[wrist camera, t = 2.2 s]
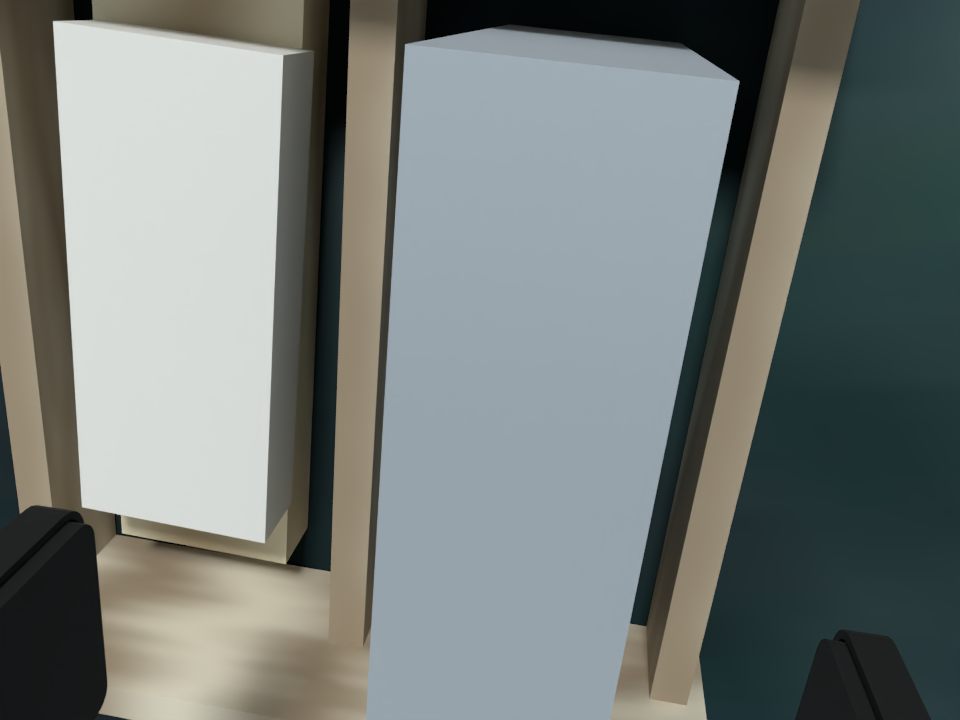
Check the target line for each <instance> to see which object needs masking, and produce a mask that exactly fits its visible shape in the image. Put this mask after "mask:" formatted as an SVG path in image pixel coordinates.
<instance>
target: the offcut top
mask: <svg viewBox="0 0 960 720" xmlns="http://www.w3.org/2000/svg"><path fill="white" fill-rule="evenodd" d="M53 31H54V48H55V65H56V81H57V98H58V115H59V132H60V148H61V165H62V182H63V199H64V215H65V232H66V249H67V265H68V282H69V299H70V316H71V332H72V349H73V366H74V383H75V399H76V416H77V433H78V450H79V466H80V483H81V500H82V507H84V508H89V509H94V510H99V511H104V512H109V513H114V514H119V515H124V516H129V517H134V518H139V519H144V520H149V521H154V522H159V523H164V524H169V525H174V526H179V527H184V528H189V529H195V530H200V531H205V532H210V533H215V534H220V535H225V536H230V537H235V538H240V539H245V540H250V541H255V542H260V543H266V541H267V539H268V538H269V536H270V535H271V533H272V532H273V530H274V529H275V527H276V526H277V524H278V523H279V521H280V520H281V518H282V517H283V515H284V514H285V512H286V510H287V509H288V507H289V506H290V504H291V502H292V482H293V462H294V443H295V423H296V403H297V384H298V364H299V344H300V324H301V305H302V285H303V265H304V246H305V226H306V206H307V186H308V167H309V147H310V127H311V108H312V88H313V68H314V51H312V50H305V49H298V48H292V47H285V46H278V45H271V44H265V43H258V42H251V41H244V40H238V39H231V38H224V37H217V36H211V35H204V34H197V33H190V32H184V31H177V30H170V29H163V28H157V27H150V26H143V25H136V24H130V23H123V22H116V21H109V20H74V21H53Z"/></svg>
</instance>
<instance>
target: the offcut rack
mask: <svg viewBox="0 0 960 720" xmlns="http://www.w3.org/2000/svg"><path fill="white" fill-rule="evenodd" d="M859 4H860V0H779V5H778V9H777V14H776V19H775V23H774V28H773V33H772V38H771V42H770V47H769V52H768V56H767V61H766V66H765V70H764V75H763V80H762V85H761V89H760V94H759V99H758V103H757V108H756V113H755V118H754V122H753V127H752V132H751V136H750V141H749V146H748V150H747V155H746V160H745V165H744V169H743V174H742V179H741V183H740V188H739V193H738V197H737V202H736V207H735V212H734V216H733V221H732V226H731V230H730V235H729V240H728V244H727V249H726V254H725V259H724V263H723V268H722V273H721V277H720V282H719V287H718V292H717V296H716V301H715V306H714V310H713V315H712V320H711V324H710V329H709V334H708V339H707V343H706V348H705V353H704V357H703V362H702V367H701V371H700V376H699V381H698V386H697V390H696V395H695V400H694V404H693V409H692V414H691V418H690V423H689V428H688V433H687V437H686V442H685V447H684V451H683V456H682V461H681V466H680V470H679V475H678V480H677V484H676V489H675V494H674V498H673V503H672V508H671V513H670V517H669V522H668V527H667V531H666V536H665V541H664V545H663V550H662V555H661V560H660V564H659V569H658V574H657V578H656V583H655V588H654V592H653V597H652V602H651V607H650V611H649V616H648V621H647V625H646V626H641V625H635V624H629V629H628V634H627V639H626V644H625V649H624V654H623V659H622V664H621V668H620V673H619V678H618V683H617V688H616V693H615V698H614V703H613V708H612V713H611V718H610V720H707V719H706V710H705V702H704V694H703V686H702V678H701V670H700V661H699V653H700V649H701V645H702V641H703V637H704V633H705V629H706V625H707V621H708V617H709V613H710V609H711V605H712V601H713V596H714V592H715V588H716V584H717V580H718V576H719V572H720V568H721V564H722V560H723V556H724V552H725V548H726V544H727V540H728V536H729V532H730V527H731V523H732V519H733V515H734V511H735V507H736V503H737V499H738V495H739V491H740V487H741V483H742V479H743V475H744V471H745V467H746V462H747V458H748V454H749V450H750V446H751V442H752V438H753V434H754V430H755V426H756V422H757V418H758V414H759V410H760V406H761V402H762V398H763V393H764V389H765V385H766V381H767V377H768V373H769V369H770V365H771V361H772V357H773V353H774V349H775V345H776V341H777V337H778V333H779V328H780V324H781V320H782V316H783V312H784V308H785V304H786V300H787V296H788V292H789V288H790V284H791V280H792V276H793V272H794V268H795V264H796V259H797V255H798V251H799V247H800V243H801V239H802V235H803V231H804V227H805V223H806V219H807V215H808V211H809V207H810V203H811V199H812V194H813V190H814V186H815V182H816V178H817V174H818V170H819V166H820V162H821V158H822V154H823V150H824V146H825V142H826V138H827V134H828V130H829V125H830V121H831V117H832V113H833V109H834V105H835V101H836V97H837V93H838V89H839V85H840V81H841V77H842V73H843V69H844V65H845V60H846V56H847V52H848V48H849V44H850V40H851V36H852V32H853V28H854V24H855V20H856V16H857V12H858V8H859ZM426 13H427V0H350V26H349V55H348V85H347V114H346V143H345V172H344V201H343V230H342V259H341V288H340V317H339V346H338V376H337V405H336V434H335V463H334V492H333V521H332V550H331V572H329V571H323V570H317V569H312V568H306V567H300V566H294V565H289V564H282V563H277V562H271V561H265V560H260V559H254V558H248V557H242V556H237V555H231V554H225V553H219V552H213V551H208V550H202V549H196V548H190V547H185V546H179V545H173V544H167V543H161V542H156V541H150V540H144V539H138V538H133V537H127V536H121V535H116V525H115V514H114V513H109V512H104V511H99V510H94V509H89V508H84V507H82V500H81V483H80V466H79V450H78V433H77V416H76V399H75V383H74V366H73V349H72V332H71V316H70V299H69V282H68V265H67V249H66V232H65V215H64V199H63V182H62V165H61V148H60V132H59V115H58V98H57V81H56V65H55V48H54V31H53V21H74V20H75V18H74V6H73V0H0V364H1V372H2V380H3V387H4V395H5V402H6V410H7V418H8V425H9V433H10V441H11V448H12V456H13V464H14V471H15V479H16V487H17V494H18V502H19V509H20V514H21V513H22V512H23V511H24V510H26V509H27V508H29V507H30V506H34V505H40V506H47V507H53V508H59V509H66V510H72V511H77V512H79V513H80V514H81V516H82V517H83V520H84V524H88V525H90V526H92V528H93V530H94V534H95V544H96V555H97V567H98V578H99V590H100V601H101V613H102V624H103V636H104V648H105V659H106V671H107V692H106V697H105V700H104V703H103V705H102V708H101V710H100V711H99V713H100V714H105V715H110V716H116V717H121V718H126V719H131V720H366V708H367V691H368V673H369V656H370V639H371V622H372V605H373V588H374V570H375V553H376V536H377V519H378V502H379V485H380V467H381V450H382V433H383V416H384V399H385V381H386V364H387V347H388V330H389V313H390V296H391V278H392V261H393V244H394V227H395V210H396V193H397V175H398V158H399V141H400V124H401V107H402V90H403V72H404V55H405V44H409V43H414V42H419V41H425V28H426Z"/></svg>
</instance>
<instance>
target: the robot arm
mask: <svg viewBox="0 0 960 720" xmlns="http://www.w3.org/2000/svg"><path fill="white" fill-rule="evenodd" d="M106 692H107V671H106V659H105V648H104V636H103V624H102V613H101V601H100V590H99V578H98V567H97V555H96V544H95V534H94V530H93V528H92V526H90V525H88V524H84V520H83V517H82V516H81V514H80V513H79V512H77V511H72V510H66V509H59V508H53V507H47V506H40V505H34V506H30V507H29V508H27V509H26V510H24V511H23V512H22V513H21V514H20V515H19V516H17V517H16V518H15V519H14V520H13V521H12V522H11V523H9V524H8V525H7V526H6V527H5V528H4V529H3V530H2V531H0V720H94V719H95V718H96V716H97V715H98V713H99V711H100V710H101V708H102V705H103V703H104V700H105V697H106ZM795 720H931V719H930V716H929V714H928V712H927V710H926V708H925V706H924V704H923V702H922V700H921V698H920V695H919V693H918V691H917V689H916V687H915V685H914V683H913V681H912V679H911V676H910V674H909V672H908V670H907V668H906V666H905V664H904V662H903V660H902V658H901V655H900V653H899V651H898V649H897V647H896V645H895V643H894V642H893V640H892V639H891V638H889V637H887V636H881V635H875V634H868V633H862V632H855V631H849V630H840V631H838V632H837V634H836V635H835V637H834V639H833V640H828V639H823V640H821V641H820V643H819V645H818V647H817V650H816V653H815V657H814V660H813V663H812V666H811V670H810V673H809V676H808V679H807V683H806V686H805V689H804V692H803V696H802V699H801V702H800V705H799V709H798V712H797V715H796V718H795Z"/></svg>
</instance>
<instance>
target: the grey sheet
mask: <svg viewBox="0 0 960 720" xmlns="http://www.w3.org/2000/svg"><path fill="white" fill-rule="evenodd" d="M739 82H740V81H738V80H737V79H735V78H734V77H732V76H731V75H729V74H728V73H726V72H724V71H723V70H721V69H720V68H718V67H717V66H715V65H714V64H712V63H711V62H709V61H708V60H706V59H704V58H703V57H701V56H700V55H698V54H697V53H695V52H694V51H692V50H691V49H689V48H688V47H686V46H684V45H683V44H681V43H678V42H669V41H659V40H650V39H641V38H632V37H622V36H613V35H604V34H594V33H585V32H576V31H566V30H557V29H548V28H538V27H529V26H520V25H511V24H509V25H504V26H499V27H493V28H488V29H483V30H477V31H472V32H467V33H462V34H456V35H451V36H446V37H440V38H435V39H430V40H425V41H419V42H414V43H409V44H405V55H404V72H403V90H402V107H401V124H400V141H399V158H398V175H397V193H396V210H395V227H394V244H393V261H392V278H391V296H390V313H389V330H388V347H387V364H386V381H385V399H384V416H383V433H382V450H381V467H380V485H379V502H378V519H377V536H376V553H375V570H374V588H373V605H372V622H371V639H370V656H369V673H368V691H367V708H366V720H610V718H611V713H612V708H613V703H614V698H615V693H616V688H617V683H618V678H619V673H620V668H621V664H622V659H623V654H624V649H625V644H626V639H627V634H628V629H629V624H630V619H631V614H632V609H633V604H634V599H635V595H636V590H637V585H638V580H639V575H640V570H641V565H642V560H643V555H644V550H645V545H646V540H647V535H648V530H649V526H650V521H651V516H652V511H653V506H654V501H655V496H656V491H657V486H658V481H659V476H660V471H661V466H662V461H663V457H664V452H665V447H666V442H667V437H668V432H669V427H670V422H671V417H672V412H673V407H674V402H675V397H676V392H677V388H678V383H679V378H680V373H681V368H682V363H683V358H684V353H685V348H686V343H687V338H688V333H689V328H690V323H691V319H692V314H693V309H694V304H695V299H696V294H697V289H698V284H699V279H700V274H701V269H702V264H703V259H704V254H705V250H706V245H707V240H708V235H709V230H710V225H711V220H712V215H713V210H714V205H715V200H716V195H717V190H718V185H719V181H720V176H721V171H722V166H723V161H724V156H725V151H726V146H727V141H728V136H729V131H730V126H731V121H732V116H733V112H734V107H735V102H736V97H737V92H738V87H739Z"/></svg>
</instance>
